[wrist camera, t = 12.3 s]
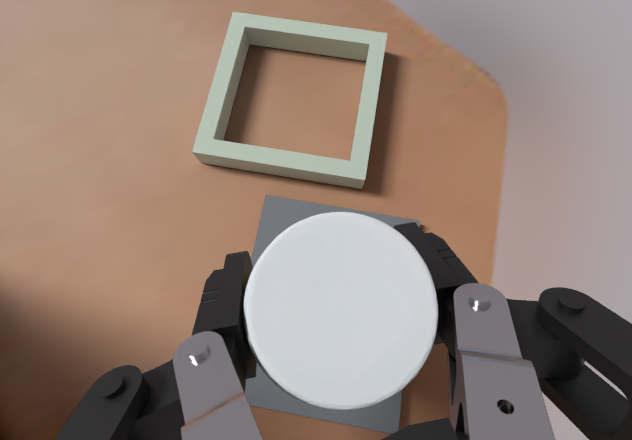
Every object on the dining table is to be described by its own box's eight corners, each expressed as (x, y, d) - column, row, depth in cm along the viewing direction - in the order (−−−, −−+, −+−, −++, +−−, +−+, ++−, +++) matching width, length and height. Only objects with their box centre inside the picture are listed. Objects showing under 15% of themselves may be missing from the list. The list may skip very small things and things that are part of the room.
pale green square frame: (361, 189, 20) (365, 180, 19) (200, 162, 21) (192, 151, 19) (382, 50, 23) (387, 33, 21) (238, 30, 23) (233, 11, 22)
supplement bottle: (407, 332, 16) (531, 365, 6) (306, 391, 15) (284, 519, 6) (350, 233, 17) (387, 143, 8) (255, 284, 16) (171, 251, 7)
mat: (395, 431, 17) (397, 435, 16) (222, 396, 17) (219, 399, 17) (417, 222, 20) (420, 220, 19) (267, 197, 20) (265, 194, 20)
